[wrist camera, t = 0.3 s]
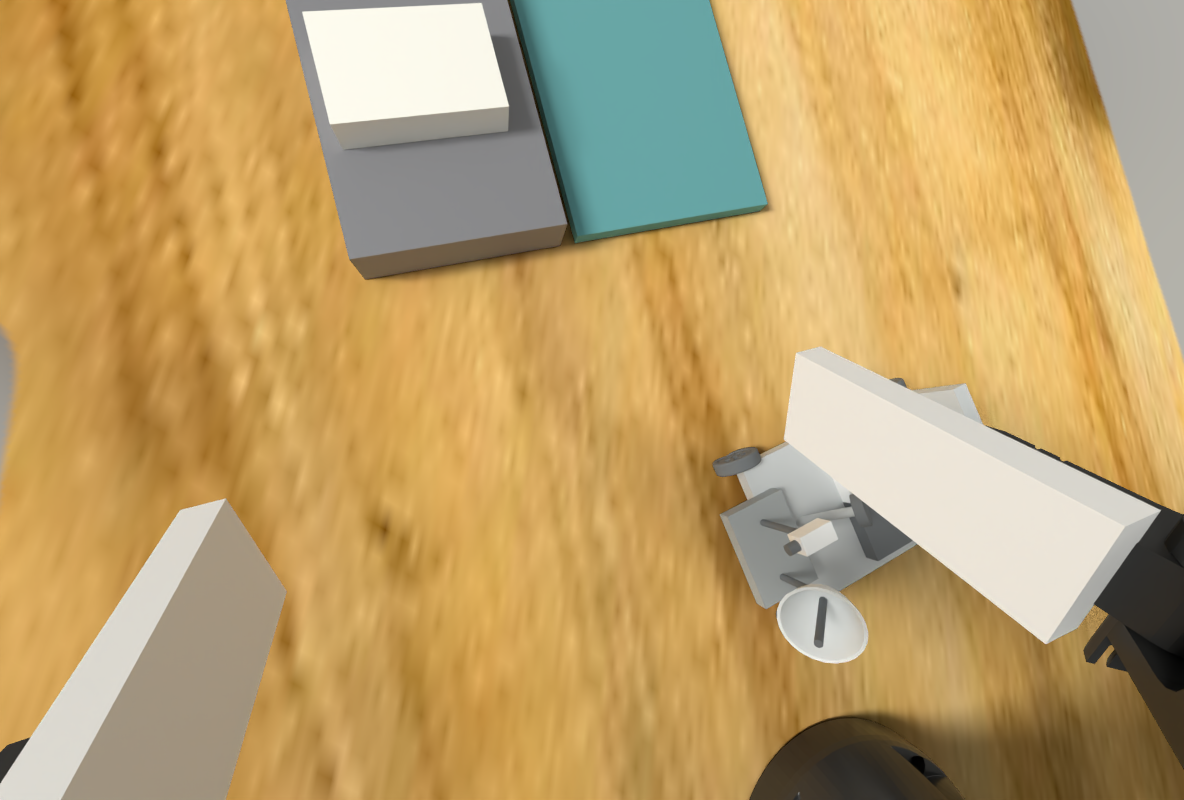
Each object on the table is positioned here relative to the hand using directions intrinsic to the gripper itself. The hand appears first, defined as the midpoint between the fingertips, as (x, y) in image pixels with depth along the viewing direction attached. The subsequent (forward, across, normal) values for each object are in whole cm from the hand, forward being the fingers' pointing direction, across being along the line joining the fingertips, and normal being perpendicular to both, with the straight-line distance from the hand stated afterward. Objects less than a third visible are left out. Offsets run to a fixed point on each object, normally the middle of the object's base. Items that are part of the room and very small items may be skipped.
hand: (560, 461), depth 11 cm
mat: (+26, -14, -8) cm, 31 cm away
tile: (+24, +1, -10) cm, 26 cm away
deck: (+26, 0, -8) cm, 27 cm away
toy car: (+10, -19, +17) cm, 28 cm away
